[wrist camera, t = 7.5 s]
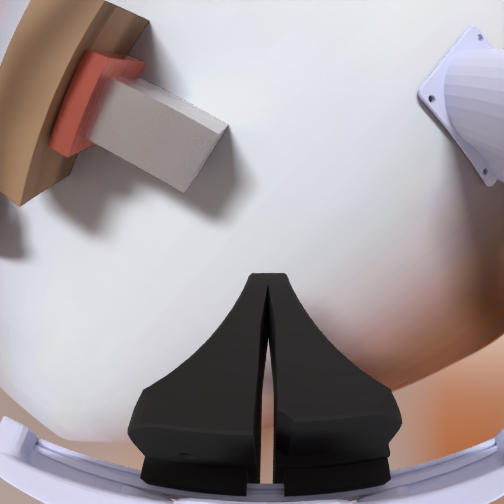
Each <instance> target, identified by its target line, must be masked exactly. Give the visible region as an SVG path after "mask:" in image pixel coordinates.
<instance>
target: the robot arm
mask: <svg viewBox="0 0 504 504" xmlns="http://www.w3.org/2000/svg"><path fill="white" fill-rule="evenodd" d="M478 36H479V38H480V40H479V39H478ZM418 96H419V97H420V99H421V100H422V101H423V102H424V103H425V104H426V105H427V107H428V108H429V109H430V110H431V111H432V112H433V113H434V115H435V116H436V117H437V118H438V119H439V121H440V122H441V123H442V124H443V126H444V127H445V128H446V129H447V131H448V132H449V133H450V134H451V136H452V137H453V138H454V140H455V141H456V142H457V144H458V145H459V146H460V148H461V149H462V150H463V152H464V153H465V155H466V156H467V157H468V159H469V160H470V162H471V163H472V165H473V166H474V168H475V169H476V171H477V172H478V174H479V175H480V177H481V178H482V180H483V181H484V183H485V184H486V185H487V186H489V187H491V186H493V185H494V183H495V182H496V181H497V180H499V181H501V182H503V183H504V49H503V48H493V47H492V46H491V44H490V43H489V42H488V40H487V39H486V38H485V36H484V35H483V34H482V33H481V31H480V30H479V29H478V28H477V27H476V26H474V25H472V26H469V27H468V28H467V29H466V31H465V32H464V33H463V34H462V36H461V37H460V38H459V39H458V41H457V42H456V43H455V44H454V46H453V47H452V48H451V49H450V51H449V52H448V53H447V54H446V55H445V57H444V58H443V59H442V60H441V62H440V63H439V64H438V65H437V67H436V68H435V69H434V70H433V71H432V73H431V74H430V75H429V76H428V77H427V79H426V80H425V81H424V82H423V84H422V85H421V86H420V87H419V89H418ZM429 96H431V97H432V102H429ZM484 169H485V172H484V173H483V170H484ZM268 338H269V347H270V357H271V366H272V376H273V387H274V447H273V448H274V449H273V484H260V459H261V457H260V456H261V418H262V388H263V379H264V370H265V362H266V354H267V345H268ZM401 425H402V418H401V414H400V411H399V407H398V405H397V403H396V400H395V398H394V396H393V394H392V392H391V390H390V389H389V388H388V387H386V386H384V385H383V384H381V383H380V382H378V381H377V380H375V379H373V378H372V377H370V376H369V375H367V374H366V373H364V372H363V371H362V370H361V369H359V368H358V367H357V366H355V365H354V364H353V363H352V362H351V361H350V360H349V359H347V358H346V357H345V356H344V355H343V354H342V353H341V352H340V351H338V350H337V349H336V347H335V346H334V345H333V344H332V343H331V342H330V341H329V340H328V339H327V338H326V337H325V336H324V335H323V333H322V332H321V331H320V330H319V329H318V327H317V326H316V325H315V323H314V322H313V321H312V319H311V318H310V317H309V315H308V314H307V312H306V311H305V309H304V308H303V306H302V304H301V303H300V301H299V300H298V298H297V296H296V294H295V292H294V290H293V289H292V286H291V284H290V282H289V280H288V277H287V275H286V274H285V273H252V274H251V275H249V277H248V280H247V283H246V285H245V287H244V289H243V291H242V293H241V295H240V296H239V298H238V300H237V301H236V303H235V305H234V306H233V308H232V310H231V311H230V312H229V314H228V315H227V317H226V318H225V319H224V321H223V322H222V324H221V325H220V326H219V327H218V329H217V330H216V331H215V332H214V333H213V334H212V336H211V337H210V338H209V339H208V340H207V341H206V342H205V343H204V344H203V345H202V346H201V347H200V348H199V349H198V350H197V351H196V352H195V353H194V354H193V355H192V356H191V357H190V358H188V359H187V360H186V361H185V362H183V363H182V364H181V365H180V366H178V367H177V368H176V369H175V370H173V371H172V372H171V373H169V374H168V375H167V376H165V377H163V378H162V379H160V380H159V381H157V382H156V383H154V384H152V385H151V386H149V387H147V388H146V389H144V390H143V391H142V393H141V395H140V397H139V399H138V401H137V404H136V406H135V408H134V411H133V414H132V417H131V420H130V423H129V427H128V435H129V437H130V439H131V440H132V442H133V443H134V444H135V445H136V446H137V448H138V449H139V450H140V451H141V452H142V453H143V454H144V455H145V459H144V463H143V467H142V470H137V469H133V468H129V467H125V466H121V465H117V464H113V463H109V462H106V461H102V460H99V459H96V458H93V457H90V456H86V455H83V454H80V453H77V452H74V451H72V450H69V449H66V448H63V447H61V446H58V445H56V444H53V443H50V442H48V441H45V440H43V439H41V438H38V437H37V436H36V434H35V433H34V432H33V431H31V430H30V429H29V428H28V427H26V426H25V425H23V424H21V423H19V422H17V421H15V420H13V419H11V418H9V417H7V416H4V417H3V419H2V421H1V423H0V478H2V479H4V480H5V481H7V482H8V483H10V484H11V485H13V486H15V487H16V488H18V489H20V490H21V491H23V492H25V493H26V494H28V495H30V496H32V497H33V498H35V499H37V500H39V501H41V502H43V503H45V504H489V503H491V502H493V501H495V500H496V499H498V498H500V497H502V496H504V428H503V429H502V430H501V431H500V432H499V433H498V434H497V435H496V437H495V438H492V439H490V440H488V441H485V442H483V443H481V444H478V445H476V446H473V447H470V448H468V449H465V450H463V451H460V452H457V453H454V454H451V455H448V456H445V457H442V458H438V459H435V460H432V461H428V462H425V463H421V464H418V465H414V466H410V467H406V468H402V469H397V470H393V471H390V470H389V464H388V459H387V457H389V456H390V450H389V445H388V443H389V442H390V441H391V439H392V438H393V437H394V436H395V434H396V433H397V432H398V430H399V429H400V427H401ZM170 498H171V499H177V500H175V501H174V502H173V501H172V500H171V499H170ZM352 500H357V502H356V503H351V502H350V501H352Z"/></svg>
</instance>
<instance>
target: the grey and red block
mask: <svg viewBox="0 0 504 504" xmlns="http://www.w3.org/2000/svg"><path fill="white" fill-rule="evenodd" d="M145 65H146V63H145V62H143V61H140V60H138V59H136V58H134V57H131V56H129V55H125V54H119V53H113V52H106V51H98V50H90V49H86V50H85V52H84V54H83V56H82V58H81V61H80V63H79V65H78V67H77V69H76V71H75V74H74V76H73V78H72V81H71V83H70V85H69V88H68V90H67V93H66V95H65V98H64V101H63V103H62V106H61V109H60V111H59V114H58V117H57V120H56V123H55V126H54V129H53V132H52V135H51V138H50V142H49V145H48V146H49V147H50V148H52V149H54V150H55V151H57V152H59V153H61V154H62V155H64V156H66V157H67V158H68V157H70V156H72V155H74V154H76V153H78V152H80V151H82V150H85V149H87V148H89V147H91V146H93V145H96V144H97V145H99V146H101V147H103V148H104V149H106V150H108V151H110V152H112V153H113V154H115V155H117V156H119V157H121V158H122V159H124V160H126V161H128V162H130V163H131V164H133V165H135V166H137V167H139V168H140V169H142V170H144V171H146V172H147V173H149V174H151V175H153V176H154V177H156V178H158V179H160V180H162V181H163V182H165V183H167V184H169V185H170V186H172V187H174V188H176V189H177V190H179V191H181V192H183V193H185V191H186V190H187V188H188V187H189V186H190V184H191V183H192V182H193V180H194V179H195V177H196V176H197V175H198V173H199V172H200V170H201V169H202V167H203V165H204V164H205V162H206V160H207V159H208V157H209V155H210V154H211V152H212V150H213V149H214V147H215V145H216V144H217V142H218V141H219V139H220V137H221V136H222V134H223V133H224V131H225V129H226V128H227V126H228V124H226V123H225V122H223V121H221V120H219V119H218V118H216V117H214V116H212V115H211V114H209V113H207V112H205V111H203V110H202V109H200V108H198V107H196V106H194V105H192V104H191V103H189V102H187V101H185V100H183V99H181V98H179V97H177V96H175V95H174V94H172V93H170V92H168V91H166V90H164V89H162V88H160V87H158V86H156V85H154V84H152V83H150V82H148V81H146V80H144V79H141V78H139V76H140V74H141V72H142V70H143V68H144V67H145Z"/></svg>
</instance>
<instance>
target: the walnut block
mask: <svg viewBox="0 0 504 504" xmlns="http://www.w3.org/2000/svg"><path fill="white" fill-rule="evenodd" d="M148 22H149V20H147V19H145V18H143V17H140V16H138V15H136V14H134V13H132V12H130V11H128V10H125V9H123V8H121V7H119V6H116V5H114V4H112V3H109V2H107V1H105V0H31V1H30V3H29V5H28V7H27V8H26V10H25V12H24V14H23V16H22V18H21V20H20V22H19V24H18V26H17V28H16V30H15V32H14V35H13V37H12V39H11V41H10V44H9V46H8V48H7V51H6V53H5V56H4V58H3V61H2V63H1V66H0V192H1V193H3V194H4V195H5V196H6V197H8V198H9V199H10V200H11V201H13V202H14V203H15V204H16V205H18V206H19V207H21V206H22V205H23V204H25V203H26V202H28V201H29V200H31V199H32V198H34V197H35V196H37V195H38V194H40V193H41V192H43V191H44V190H46V189H48V188H49V187H51V186H52V185H54V184H56V183H57V182H59V181H60V180H62V179H64V178H65V177H67V176H69V175H70V172H71V169H72V166H73V164H74V161H75V159H76V156H77V154H78V153H76V154H74V155H72V156H70V157H68V158H67V157H66V156H64V155H62V154H61V153H59V152H57V151H55V150H54V149H52V148H50V147H49V146H48V145H49V142H50V138H51V135H52V132H53V129H54V126H55V123H56V120H57V117H58V114H59V111H60V109H61V106H62V103H63V101H64V98H65V95H66V93H67V90H68V88H69V85H70V83H71V81H72V78H73V76H74V74H75V71H76V69H77V67H78V65H79V63H80V61H81V58H82V56H83V54H84V52H85V50H86V49H90V50H98V51H106V52H113V53H119V54H125V55H127V54H128V52H129V51H130V49H131V48H132V46H133V45H134V43H135V41H136V40H137V38H138V37H139V35H140V34H141V32H142V31H143V29H144V28H145V26H146V25H147V24H148Z"/></svg>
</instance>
